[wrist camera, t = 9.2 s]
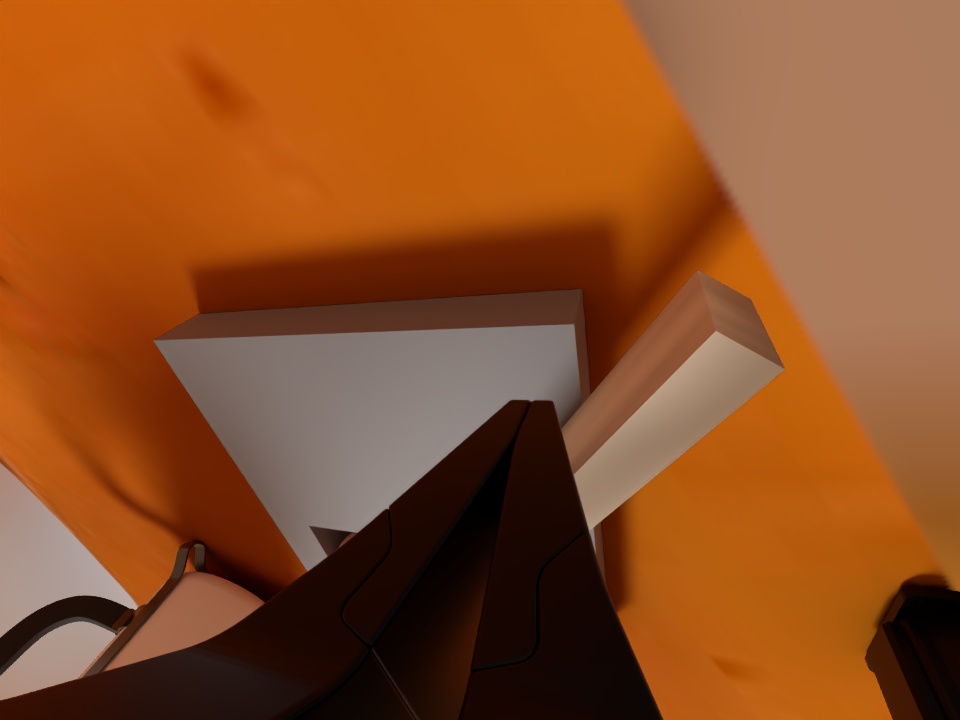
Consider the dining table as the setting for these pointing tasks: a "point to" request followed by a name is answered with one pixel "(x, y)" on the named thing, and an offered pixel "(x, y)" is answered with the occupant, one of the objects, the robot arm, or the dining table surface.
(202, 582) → the coffee press
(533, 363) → the board
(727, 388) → the lever
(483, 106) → the dining table surface
